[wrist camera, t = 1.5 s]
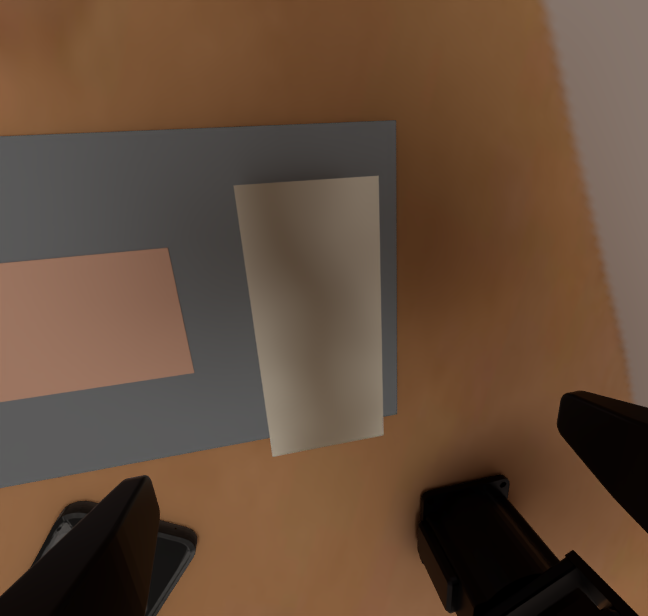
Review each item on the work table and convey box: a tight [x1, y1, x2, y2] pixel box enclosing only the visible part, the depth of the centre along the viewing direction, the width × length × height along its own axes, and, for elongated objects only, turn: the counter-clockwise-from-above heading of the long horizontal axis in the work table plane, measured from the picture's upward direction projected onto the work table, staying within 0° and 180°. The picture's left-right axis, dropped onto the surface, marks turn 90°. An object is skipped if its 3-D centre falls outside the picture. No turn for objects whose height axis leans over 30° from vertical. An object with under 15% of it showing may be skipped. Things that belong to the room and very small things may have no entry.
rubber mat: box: [0, 120, 397, 488], centre depth 17 cm, size 24×16×1 cm, turn 94°
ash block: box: [234, 176, 383, 457], centre depth 16 cm, size 5×11×4 cm, turn 4°
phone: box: [31, 501, 197, 616], centre depth 21 cm, size 8×1×15 cm
